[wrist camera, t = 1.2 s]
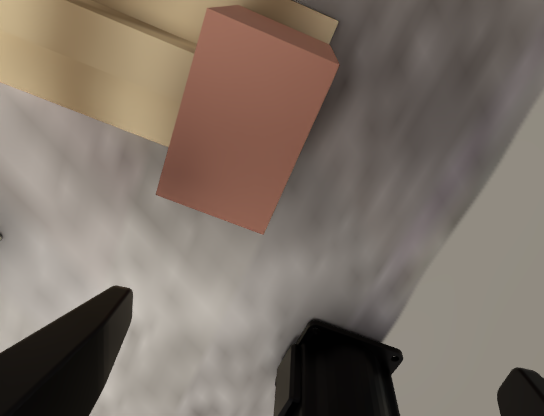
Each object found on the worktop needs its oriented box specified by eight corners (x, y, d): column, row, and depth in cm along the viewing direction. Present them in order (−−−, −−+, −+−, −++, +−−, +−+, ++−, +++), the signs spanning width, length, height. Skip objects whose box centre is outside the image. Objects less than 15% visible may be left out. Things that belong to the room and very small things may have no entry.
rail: (336, 20, 17) (353, 33, 11) (270, 177, 21) (254, 254, 15) (-93, -170, 15) (-365, -285, 9) (-83, 40, 19) (-272, 61, 13)
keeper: (329, 44, 16) (340, 64, 11) (274, 173, 19) (263, 234, 14) (237, 4, 16) (206, 8, 11) (195, 142, 19) (155, 194, 14)
